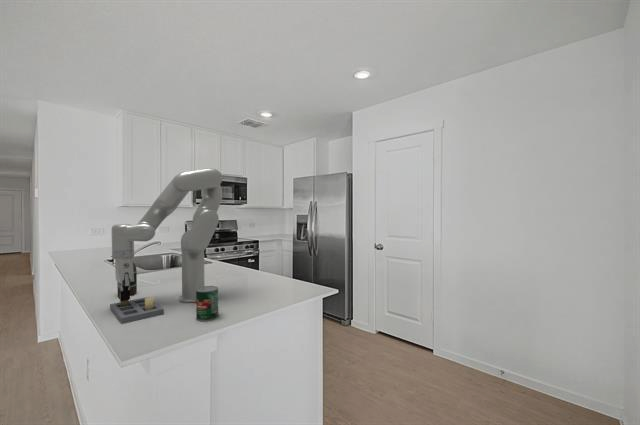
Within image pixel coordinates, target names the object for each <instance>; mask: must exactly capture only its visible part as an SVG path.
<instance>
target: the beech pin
mask: <svg viewBox="0 0 640 425" xmlns="http://www.w3.org/2000/svg"><path fill="white" fill-rule="evenodd" d="M123 286H124V285H123ZM120 291H121V285H120ZM129 301H130V300H126V301H121V300H120V299H119V302H120V307H123V306H128V305H129Z"/></svg>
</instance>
